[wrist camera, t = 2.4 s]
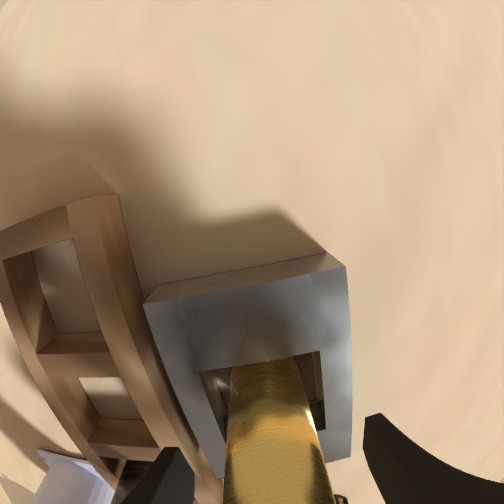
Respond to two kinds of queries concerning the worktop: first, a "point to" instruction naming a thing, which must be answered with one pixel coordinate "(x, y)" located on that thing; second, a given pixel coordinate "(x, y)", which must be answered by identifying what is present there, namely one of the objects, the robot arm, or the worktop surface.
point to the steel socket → (257, 342)
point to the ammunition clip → (340, 499)
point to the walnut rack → (97, 343)
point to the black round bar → (130, 478)
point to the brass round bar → (272, 439)
